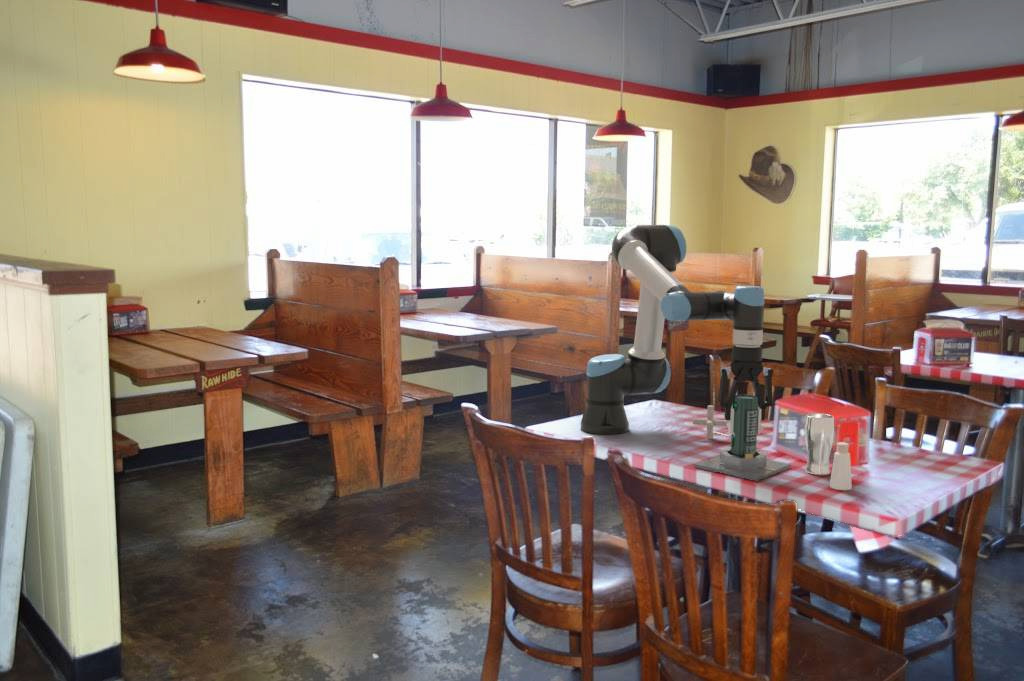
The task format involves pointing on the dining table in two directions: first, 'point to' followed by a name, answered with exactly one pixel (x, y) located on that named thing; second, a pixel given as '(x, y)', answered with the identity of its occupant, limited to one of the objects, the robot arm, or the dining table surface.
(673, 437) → the dining table surface
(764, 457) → the collar
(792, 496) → the dining table surface
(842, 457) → the pepper shaker
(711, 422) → the pipe connector
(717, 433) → the butter knife
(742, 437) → the can
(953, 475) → the dining table surface
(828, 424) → the beer glass
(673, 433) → the dining table surface
